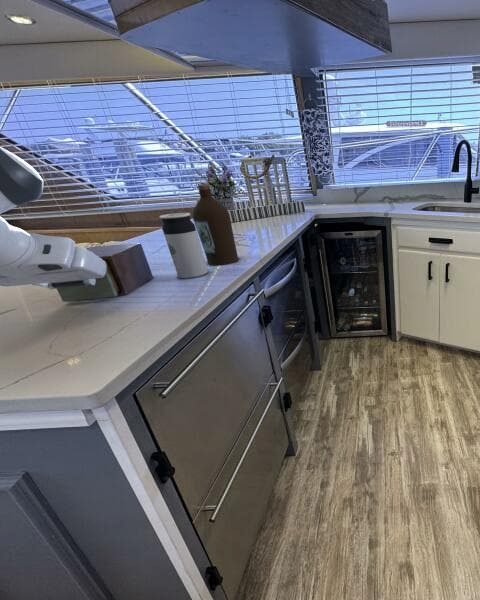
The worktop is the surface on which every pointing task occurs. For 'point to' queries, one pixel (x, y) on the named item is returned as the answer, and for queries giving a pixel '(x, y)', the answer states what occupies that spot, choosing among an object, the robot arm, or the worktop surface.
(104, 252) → the storage box
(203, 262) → the travel mug
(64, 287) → the drawer
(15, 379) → the worktop surface
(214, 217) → the olive oil
